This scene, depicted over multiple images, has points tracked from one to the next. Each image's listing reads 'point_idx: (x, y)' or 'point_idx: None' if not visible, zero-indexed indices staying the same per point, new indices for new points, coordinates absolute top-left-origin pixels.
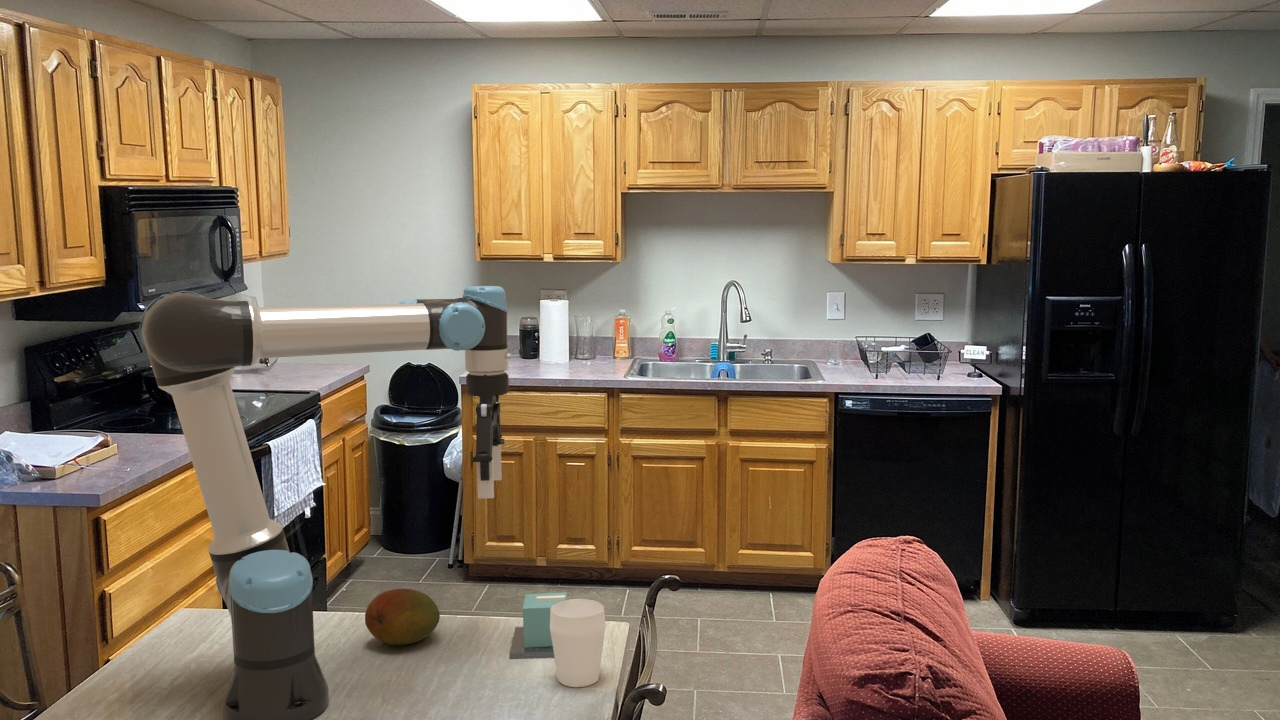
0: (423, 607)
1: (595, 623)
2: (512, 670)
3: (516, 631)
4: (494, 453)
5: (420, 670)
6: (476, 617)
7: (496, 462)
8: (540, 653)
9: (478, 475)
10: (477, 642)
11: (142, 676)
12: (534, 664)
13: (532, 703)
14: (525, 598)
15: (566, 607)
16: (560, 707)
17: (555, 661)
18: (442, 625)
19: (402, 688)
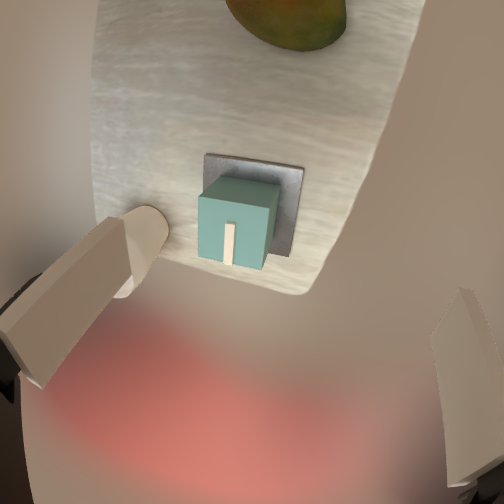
0: (249, 23)
1: None
2: (172, 156)
3: (283, 170)
4: (467, 434)
5: (183, 39)
6: (384, 116)
7: (454, 395)
8: None
9: (42, 279)
10: (273, 109)
11: None
12: (187, 183)
13: (101, 176)
14: (246, 205)
15: (133, 258)
16: (97, 201)
17: (130, 212)
18: (360, 59)
19: (136, 32)
